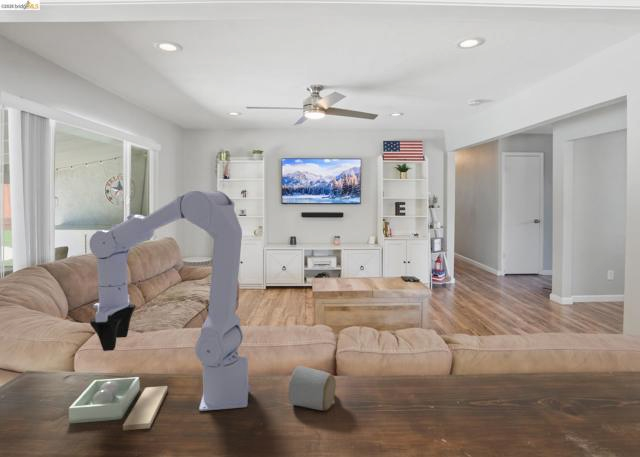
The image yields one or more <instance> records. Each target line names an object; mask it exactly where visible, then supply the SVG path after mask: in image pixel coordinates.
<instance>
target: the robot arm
mask: <svg viewBox="0 0 640 457" xmlns="http://www.w3.org/2000/svg"><path fill="white" fill-rule="evenodd" d="M180 219H186V220H187V221H188V222H190V223H191V224H193V225H195V226H197V227H198V228H200V229H202V230H203V231H205V232H206V233H207V234H208V235H209V236H210V237H211V238H212V239H213V248H212V263H211V273H210V276H211V277H210V286H209V288H210V289H209V303H208V311H207V312H208V314H207V317H206V319H205V321H204V323H203V324H202V326H201V328H200V334H199V338H198V339H197V341H196V343H195V345H194V346H195V348H194V351H195V355H196V357H197V359H198V360H199V362H201V366H202V388H203V393H202V397H201V400H200V404H199V407H198V410H199V411H200V412H203V411H204V412H205V411H206V412H207V411H214V410H215V411H216V410H229V409H237V408H238V409H239V408H247V407H248V403H249V402H248V401H249V400H248V399H249V393H250V390H251V389H250V388H251V387H250V382H249V360H248V359H249V358H248V357H247V356H241V355H239V347H240V346H241V344H242V343H243V340H244V333H243V330H242V328H241V318H240V317H239V316H238V315H237V314H236V309H237V308H236V307H237V298H238V295H237V294H238V286H239V285H238V284H239V272H240V262H241V249H242V239H243V238H242V237H243V236H242V235H243V230H242V227H241V224H240V221H239V218H238V216H237V213H236V211H235V202H234V201H233V200H232V199H231V198H230V197H229V196H228V195H227V194H226V193H224V192H223V191H220V190H214V191H208V190H207V191H203V190H202V191H201V190H199V189H198V190H190V191H188V192H187V193H185V194H180V195H178V196H177V197H176V198H174V199H173V200H171V201H169V202H168V203H166V204H164V205H163V206H161V207H159V208H157V209H156V210H154V211H153V212H151V213H149V214H148V215H145V216H144V215H142V214H129V215H128V216H127V217H126V220H124V221H122V222H120V223H119V224H118V223H116V224H115V223H114V224H113V225H111V226H110V229H109V230H97V231H96V232H95V233H93V234H92V235H91V237H90V238H89V243H88V244H89V249H90V251H91V253H92V254H93V255H94V256H95V257H96V267H97V268H96V270H97V286H98V287H97V288H98V302H96V303H95V304H93V306H92V308H93V309H97V311H96V312H95V314H94V315H95V317H93V318H92V319H91V320H90V321H89V322H90V326H91V327H92V328H93V330H94V332H95V333H96V335H97V337H98V338H99V342H100V345H101V347H102V351H104V352H108V351H109V352H110V351H114V350H116V344H117V338H118V339H120V338H127V337H128V333H129V330H130V323H131V319H132V316H133V314H134V312H135V309H136V304H134V303H133V304H130V303H131V298H130V294H129V290H128V289H129V288H128V287H129V286H128V263H127V261H128V260H129V253H130V251H131V249H132V248H134V247H136V246H138V245H139V244H142V243H145V242H146V241H148V240H151V239H152V238H153V236H154V233H155V230H158V229H159V228H160V229H161V227H165V226H166V225H168V224H171V223H173V222H175V221H178V220H180Z"/></svg>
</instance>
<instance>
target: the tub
mask: <svg viewBox="0 0 640 457" xmlns="http://www.w3.org/2000/svg"><path fill="white" fill-rule="evenodd" d="M107 381H115V382H116V383H117V384H118V385H119V392H118V394H117V395H116V396H115V397H114V398H113V400H112V402H111V403H109V404H96V405H93V404H92V399H93V396H94V395H95V394H96V393H97V392H98V391H100V388H101V386H102V385H103V384H104V383H105V382H107ZM140 386H141V384H140V376H135V377H122V378H121V377H119V378H107V379H102V378H101V379H94V380H93V381H92V382H91V383H90V384H89V386H87V388H85V389H84V391H83V392H82V393H81V394H80V395H79V397H77V399H76V400H74V401H73V403H72V404H71V405H70V406H69V407H68V419H69V421H68V422H69V424H78V423H79V424H80V423H89V422H90V423H91V422H102V421H112V420H113V421H114V420H122V419H123V417H124V416H125V414H126V413H127V411H128V409H129V408H130V407H131V405H132V403H133V401H134V400H135V398H136V397H137V395H138V394H139V392H140V388H141V387H140Z"/></svg>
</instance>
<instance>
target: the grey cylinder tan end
mask: <svg viewBox="0 0 640 457" xmlns="http://www.w3.org/2000/svg"><path fill="white" fill-rule="evenodd" d="M288 384H289V385H288V392H287V393H288V396H287V397H288V401H289V403H290V404H291V405H294V406H297V407H302V408H306V409H313V410H317V411H328V410H329V409H330V408H331V407H332V405H333V402H334V399H335V394H336V388H337V386H336V378H335V376H334V375H333V374H332V373H329V372H327V371H323V370H319V369H315V368H312V367H307V366H304V365H298V366H296V367H295V368H294V370H293V372H292V374H291V376H290V380H289V383H288Z"/></svg>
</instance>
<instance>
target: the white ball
mask: <svg viewBox="0 0 640 457" xmlns="http://www.w3.org/2000/svg"><path fill="white" fill-rule="evenodd" d="M100 390H109V391H110V392H111V393H112V395H113V398H114V397H115V396H116V395H117V394H118V392H119V385H118V384H117V383H116V382H115V381H107V382H105V383H104V384H103V385H102V386H101V388H100Z"/></svg>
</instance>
